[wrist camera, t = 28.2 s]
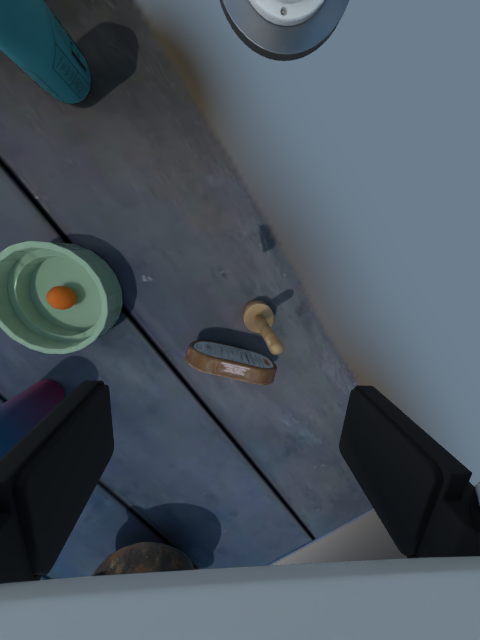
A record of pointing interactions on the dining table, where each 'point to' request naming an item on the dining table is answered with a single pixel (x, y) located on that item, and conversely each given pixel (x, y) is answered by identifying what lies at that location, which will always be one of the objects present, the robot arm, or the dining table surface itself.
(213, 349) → the tin
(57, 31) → the beverage bottle
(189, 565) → the jug
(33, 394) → the cup
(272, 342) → the wooden pestle
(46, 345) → the bowl
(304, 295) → the dining table surface
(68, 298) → the ball
